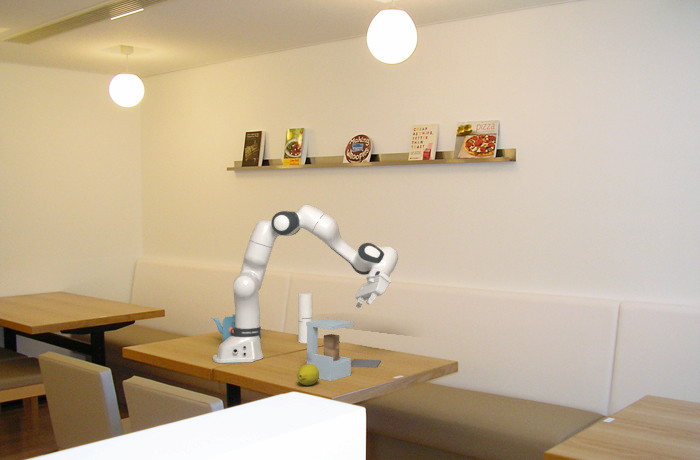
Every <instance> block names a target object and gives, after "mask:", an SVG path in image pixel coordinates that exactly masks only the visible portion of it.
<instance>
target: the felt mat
mask: <svg viewBox="0 0 700 460" xmlns="http://www.w3.org/2000/svg"><path fill="white" fill-rule="evenodd" d="M381 361H382V359H366V358H365V359H364V358H354V359H353V360H351V367H354V368H355V367H356V368H358V367H359V368H360V367H361V368H378V367H379V365H380V363H381Z"/></svg>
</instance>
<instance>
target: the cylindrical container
mask: <svg viewBox="0 0 700 460" xmlns="http://www.w3.org/2000/svg"><path fill="white" fill-rule="evenodd" d="M310 321H313V292H299V293H298V325H297V326H298V334H297V335H298V336H297V337H298V340H297V341H298V343H299V342H300V344H307V326H306V322H310Z"/></svg>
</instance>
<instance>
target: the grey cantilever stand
mask: <svg viewBox="0 0 700 460" xmlns="http://www.w3.org/2000/svg"><path fill="white" fill-rule="evenodd" d="M354 325H355V324H354V321H349V320H342V319H335V318H334V319H333V318H323V319H318V320H312V321H310V322H306V326H307V343H306V364H313V365H315V366H316V367H317V368H318V370H319V378H318V379H320V380H325V381H328V382H329V381H330V382H332V381H336V380H339V379H343V378H346V377H350V376H351V374H352V366H351V362H352V358H351V357H346V356H342V355H339V360H337V361H333V357H329V356H324V354H319V353H318V348H319V347H318V343H319V341H318V340H319V338H318V337H319V336H318V333H319V332H318V331H319V330H318V329H319V328H320V329H324V330H325V329H326V330H331V331H332V330H333V331H334V330H338V329H343V328H349V327H354Z"/></svg>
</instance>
